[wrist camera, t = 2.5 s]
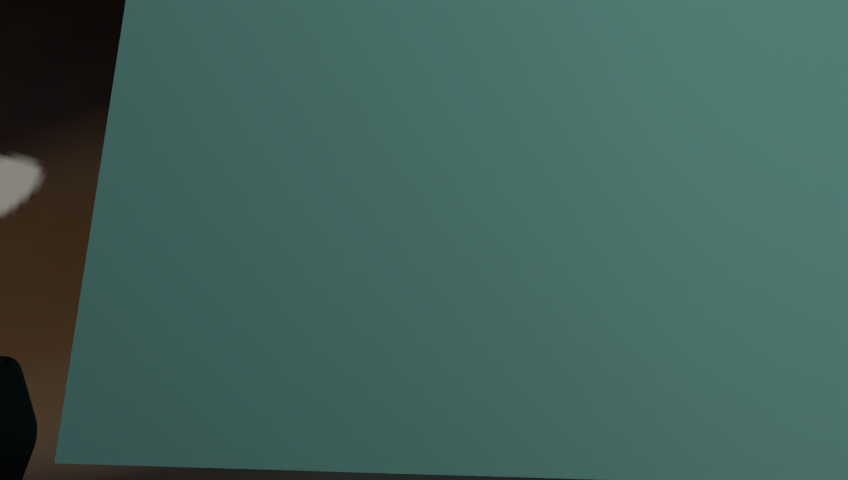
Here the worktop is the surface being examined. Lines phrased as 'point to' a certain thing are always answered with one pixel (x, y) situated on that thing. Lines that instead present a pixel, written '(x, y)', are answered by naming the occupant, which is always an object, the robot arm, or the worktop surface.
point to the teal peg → (471, 240)
